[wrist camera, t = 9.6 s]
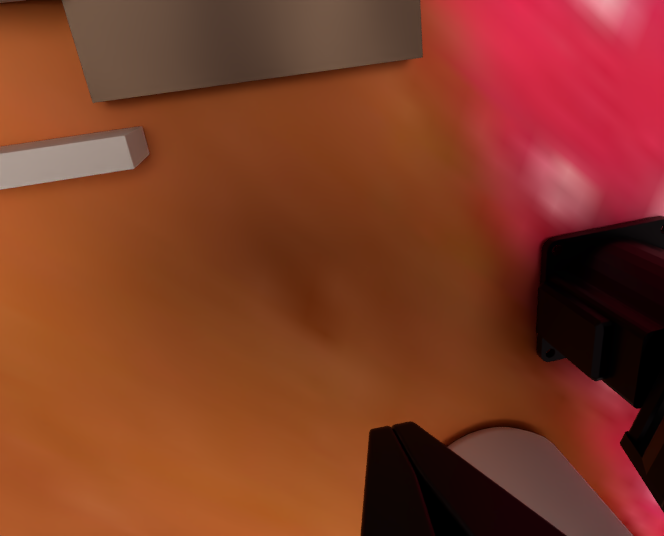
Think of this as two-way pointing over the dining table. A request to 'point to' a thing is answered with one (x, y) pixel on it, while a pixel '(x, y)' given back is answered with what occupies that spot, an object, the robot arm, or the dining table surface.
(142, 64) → the board
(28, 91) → the dining table surface
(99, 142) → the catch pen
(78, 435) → the dining table surface
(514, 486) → the alcohol
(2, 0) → the sage green block
